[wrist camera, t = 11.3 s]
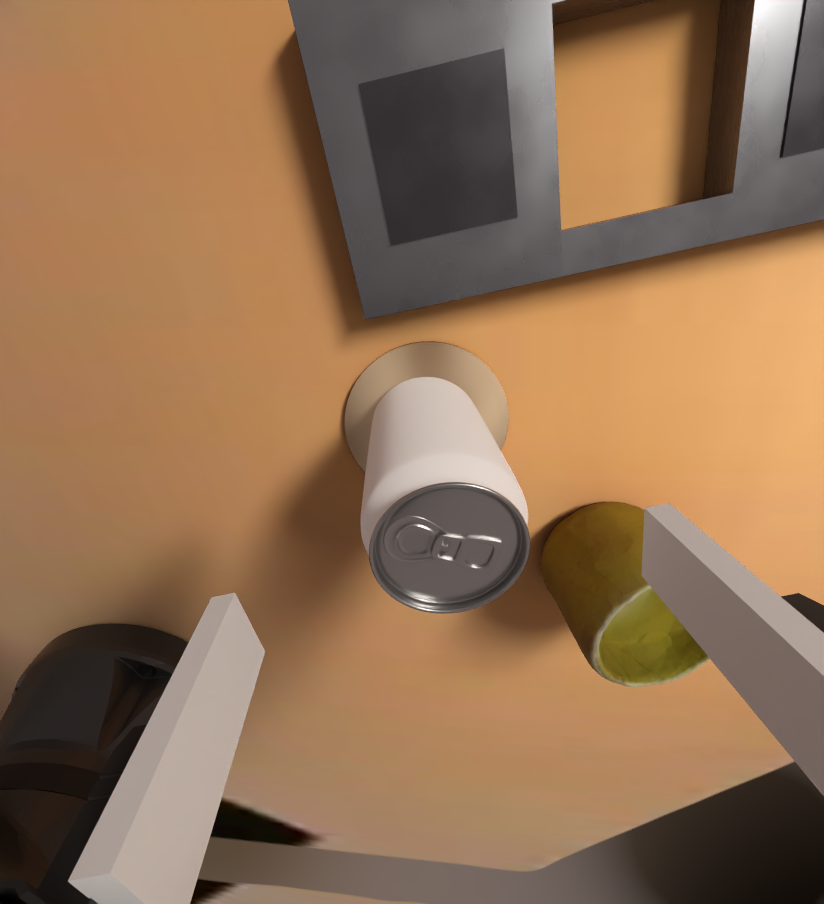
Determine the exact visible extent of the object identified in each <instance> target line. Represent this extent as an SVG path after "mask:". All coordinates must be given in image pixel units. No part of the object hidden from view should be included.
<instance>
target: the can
mask: <svg viewBox="0 0 824 904" xmlns="http://www.w3.org/2000/svg"><path fill="white" fill-rule="evenodd" d="M361 535H362V540H363V544H364V547H365V549H366V552H367V554H368V556H369V561H370V565H371V569H372V572H373V574H374V576H375V578H376V580H377V582H378V583H379V584H380V586H381V587H382V588H383V589H384V590H385V591H386V592H387V593H388V594H389V595H390V596H391V597H393V598H394V599H395V600H397V601H398V602H400V603H402V604H404V605H406V606H408V607H411V608H413V609H417V610H420V611H424V612H430V613H457V612H463V611H468V610H471V609H475V608H478V607H480V606H483V605H485V604H487V603H489V602H491V601H493V600H494V599H496V598H498V597H499V596H501V595H502V594H503V593H504V592H506V591H507V590H508V589H509V588H510V587H511V586H512V585H513V584H514V583H515V582H516V580H517V579H518V578H519V576H520V575H521V573H522V571H523V569H524V567H525V565H526V563H527V560H528V556H529V551H530V536H529V531H528V510H527V504H526V501H525V498H524V495H523V492H522V490H521V488H520V486H519V484H518V482H517V479H516V478H515V476H514V474H513V472H512V470H511V468H510V467H509V465H508V463H507V461H506V459H505V458H504V456H503V454H502V452H501V450H500V449H499V447H498V445H497V443H496V442H495V440H494V438H493V436H492V434H491V433H490V431H489V429H488V427H487V426H486V424H485V422H484V420H483V419H482V417H481V415H480V413H479V412H478V410H477V408H476V407H475V405H474V403H473V402H472V400H471V399H470V398H469V396H468V395H467V394H466V393H465V392H464V391H463V390H462V389H461V388H459V387H458V386H457V385H455V384H453V383H451V382H449V381H447V380H444V379H440V378H435V377H418V378H413V379H410V380H407V381H404V382H402V383H400V384H398V385H397V386H395V387H394V388H392V389H391V390H390V391H389V392H388V393H387V394H386V395H385V396H384V397H383V398H382V399H381V400H380V402H379V403H378V405H377V407H376V410H375V412H374V416H373V421H372V427H371V434H370V441H369V449H368V457H367V465H366V473H365V481H364V490H363V498H362V508H361Z"/></svg>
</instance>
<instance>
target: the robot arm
mask: <svg viewBox="0 0 824 904" xmlns="http://www.w3.org/2000/svg"><path fill="white" fill-rule="evenodd" d="M641 576H642V577H643V578H644V579H645V580H646V582H647V583H648V584H649V585H650V586H651V588H652V589H653V590H654V591H655V593H656V594H657V595H658V596H659V597H660V599H661V600H662V601H663V602H664V603H665V605H666V606H667V607H668V608H669V609H670V611H671V612H672V613H673V614H674V615H675V617H676V618H677V619H678V620H679V622H680V623H681V624H682V625H683V626H684V628H685V629H686V630H687V631H688V632H689V634H690V635H691V636H692V637H693V638H694V640H695V641H696V642H697V643H698V645H699V646H700V647H701V648H702V649H703V651H704V652H705V653H706V654H707V655H708V657H709V658H710V659H711V660H712V661H713V663H714V664H715V665H716V666H717V668H718V669H719V670H720V671H721V672H722V674H723V675H724V676H725V677H726V678H727V680H728V681H729V682H730V683H731V684H732V686H733V687H734V688H735V689H736V691H737V692H738V693H739V694H740V695H741V697H742V698H743V699H744V700H745V701H746V703H747V704H748V705H749V706H750V707H751V709H752V710H753V711H754V712H755V713H756V715H757V716H758V717H759V718H760V720H761V721H762V722H763V723H764V724H765V726H766V727H767V728H768V729H769V730H770V732H771V733H772V734H773V735H774V736H775V738H776V739H777V740H778V741H779V743H780V744H781V745H782V746H783V747H784V749H785V750H786V751H787V752H788V753H789V755H790V756H791V757H792V758H793V759H794V761H795V762H796V763H797V764H798V766H799V767H800V768H801V769H802V770H803V771H804V773H805V774H806V775H807V776H808V778H809V779H810V780H811V781H812V782H813V784H814V785H815V786H816V787H817V788H818V790H819V791H820V792H821V793H822V795H824V605H822V604H820V603H818V602H816V601H814V600H811V599H809V598H807V597H805V596H803V595H801V594H799V593H797V594H792V595H787V596H782V597H780V596H779V595H778V594H777V593H776V592H774V591H773V590H772V589H771V588H770V587H769V586H767V585H766V584H765V583H764V582H763V581H761V580H760V579H759V578H758V577H757V576H755V575H754V574H753V573H752V572H751V571H750V570H748V569H747V568H746V567H745V566H744V565H742V564H741V563H740V562H739V561H738V560H736V559H735V558H734V557H733V556H732V555H730V554H729V553H728V552H727V551H726V550H725V549H723V548H722V547H721V546H720V545H719V544H717V543H716V542H715V541H714V540H713V539H711V538H710V537H709V536H708V535H707V534H706V533H704V532H703V531H702V530H701V529H700V528H698V527H697V526H696V525H695V524H694V523H692V522H691V521H690V520H689V519H688V518H686V517H685V516H684V515H683V514H682V513H681V512H679V511H678V510H677V509H676V508H675V507H673V506H672V505H671V504H670V503H667V504H662V505H657V506H652V507H647V508H645V511H644V532H643V553H642V575H641ZM264 654H265V650H264V648H263V646H262V645H261V643H260V641H259V639H258V637H257V635H256V633H255V631H254V629H253V627H252V625H251V623H250V621H249V619H248V617H247V615H246V613H245V611H244V609H243V608H242V606H241V604H240V602H239V600H238V598H237V596H236V594H235V593H231V594H226V595H221V596H216V597H212V598H211V600H210V602H209V604H208V606H207V608H206V609H205V611H204V613H203V615H202V617H201V619H200V621H199V623H198V625H197V627H196V629H195V631H194V633H193V635H192V637H191V639H190V641H189V643H187V642H185V641H183V640H181V639H179V638H177V637H175V636H172V635H170V634H167V633H164V632H161V631H158V630H154V629H150V628H145V627H140V626H134V625H125V624H101V625H92V626H86V627H82V628H78V629H75V630H72V631H69V632H67V633H65V634H62V635H61V636H59V637H57V638H56V639H54V640H53V641H51V642H50V643H49V644H48V645H47V646H46V647H45V648H44V649H43V650H42V652H41V653H40V654H39V655H38V656H37V657H36V658H35V659H34V661H33V662H32V663H31V664H30V665H29V666H28V667H27V669H26V670H25V671H24V672H23V674H22V675H21V677H20V678H19V680H18V682H17V684H16V687H15V690H14V693H13V695H12V700H11V702H10V704H9V706H8V708H7V710H6V712H5V714H4V716H3V718H2V719H1V721H0V904H190V901H191V898H192V895H193V891H194V888H195V885H196V881H197V878H198V874H199V871H200V868H201V865H202V861H203V858H204V854H205V851H206V848H207V844H208V841H209V838H210V835H211V831H212V828H213V824H214V821H215V818H216V814H217V811H218V808H219V804H220V801H221V798H222V794H223V791H224V788H225V784H226V781H227V778H228V774H229V771H230V768H231V764H232V761H233V758H234V754H235V751H236V748H237V744H238V741H239V738H240V734H241V731H242V728H243V724H244V721H245V717H246V714H247V711H248V707H249V704H250V701H251V697H252V694H253V691H254V687H255V684H256V681H257V677H258V674H259V671H260V667H261V664H262V661H263V657H264Z"/></svg>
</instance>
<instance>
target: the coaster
mask: <svg viewBox="0 0 824 904" xmlns="http://www.w3.org/2000/svg"><path fill="white" fill-rule="evenodd" d="M418 377H435V378H440V379H444V380H447V381H449V382H451V383H453V384H455V385H457V386H458V387H459V388H461V389H462V390H463V391H464V392H465V393H466V394H467V395H468V396H469V398H470V399H471V400H472V402H473V403H474V405H475V407H476V408H477V410H478V412H479V413H480V415H481V417H482V419H483V420H484V422H485V424H486V426H487V427H488V429H489V431H490V433H491V434H492V436H493V438H494V440H495V442H496V443H497V445H498V447H499V449H500V450H501V449H502V447H503V444H504V441H505V439H506V435H507V431H508V422H509V412H508V404H507V399H506V396H505V393H504V390H503V388H502V386H501V384H500V382H499V380H498V379H497V377H496V376H495V374H494V373H493V372H492V371H491V369H490V368H489V367H488V366H487V365H486V364H485V363H484V362H483V361H482V360H480V359H479V358H478V357H477V356H475V355H474V354H472V353H470V352H468V351H467V350H465V349H462V348H460V347H458V346H455V345H451V344H447V343H442V342H434V341H431V342H416V343H410V344H406V345H403V346H399V347H397V348H395V349H392V350H390V351H388V352H386V353H385V354H383V355H381V356H380V357H378V358H377V359H376V360H375V361H373V362H372V363H371V364H370V365H369V366H368V367H367V368H366V369H365V370H364V371H363V372H362V374H361V375H360V376H359V378H358V379H357V381H356V383H355V384H354V386H353V388H352V390H351V393H350V396H349V398H348V401H347V406H346V411H345V422H344V423H345V434H346V438H347V443H348V445H349V448H350V451H351V453H352V455H353V457H354V458H355V460H356V462H357V463H358V464H359V466H360V467H361V468H362V470H363V471H364V472H365V473H366V465H367V457H368V449H369V441H370V434H371V427H372V421H373V416H374V412H375V410H376V407H377V405H378V403H379V402H380V400H381V399H382V398H383V397H384V396H385V395H386V394H387V393H388V392H389V391H390V390H391V389H392V388H394V387H395V386H397V385H398V384H400V383H402V382H404V381H407V380H410V379H413V378H418Z"/></svg>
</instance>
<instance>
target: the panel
mask: <svg viewBox="0 0 824 904" xmlns="http://www.w3.org/2000/svg"><path fill="white" fill-rule="evenodd" d="M648 1H652V0H288V3H289V7H290V11H291V15H292V19H293V23H294V27H295V32H296V36H297V40H298V44H299V48H300V52H301V56H302V60H303V65H304V69H305V73H306V77H307V81H308V85H309V89H310V93H311V98H312V102H313V106H314V110H315V114H316V118H317V122H318V126H319V131H320V135H321V139H322V143H323V147H324V151H325V155H326V159H327V164H328V168H329V172H330V176H331V180H332V184H333V188H334V193H335V197H336V201H337V205H338V209H339V213H340V217H341V221H342V226H343V230H344V234H345V238H346V242H347V246H348V250H349V254H350V259H351V263H352V267H353V271H354V275H355V279H356V283H357V287H358V292H359V296H360V300H361V304H362V308H363V312H364V316H365V320H366V319H371V318H375V317H380V316H384V315H389V314H393V313H398V312H403V311H407V310H412V309H416V308H421V307H425V306H430V305H435V304H439V303H444V302H448V301H453V300H457V299H462V298H467V297H471V296H476V295H480V294H485V293H489V292H494V291H499V290H503V289H508V288H512V287H517V286H521V285H526V284H531V283H535V282H540V281H544V280H549V279H553V278H558V277H563V276H567V275H572V274H576V273H581V272H585V271H590V270H595V269H599V268H604V267H608V266H613V265H617V264H622V263H627V262H631V261H636V260H640V259H645V258H649V257H654V256H659V255H663V254H668V253H672V252H677V251H681V250H686V249H691V248H695V247H700V246H704V245H709V244H713V243H718V242H723V241H727V240H732V239H736V238H741V237H745V236H750V235H755V234H759V233H764V232H768V231H773V230H777V229H782V228H787V227H791V226H796V225H800V224H805V223H809V222H814V221H819V220H823V219H824V0H721V7H720V18H719V30H718V41H717V52H716V63H715V74H714V86H713V97H712V108H711V119H710V130H709V142H708V153H707V164H706V175H705V186H704V198H703V199H699V200H694V201H690V202H686V203H681V204H677V205H672V206H668V207H663V208H659V209H654V210H650V211H645V212H641V213H636V214H632V215H627V216H623V217H619V218H614V219H610V220H605V221H601V222H596V223H592V224H587V225H583V226H578V227H574V228H569V229H565V230H561V219H560V195H559V170H558V145H557V121H556V96H555V71H554V46H553V25H555V24H559V23H563V22H567V21H571V20H575V19H579V18H583V17H587V16H591V15H595V14H599V13H603V12H607V11H611V10H615V9H619V8H623V7H627V6H631V5H635V4H640V3H644V2H648Z"/></svg>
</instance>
